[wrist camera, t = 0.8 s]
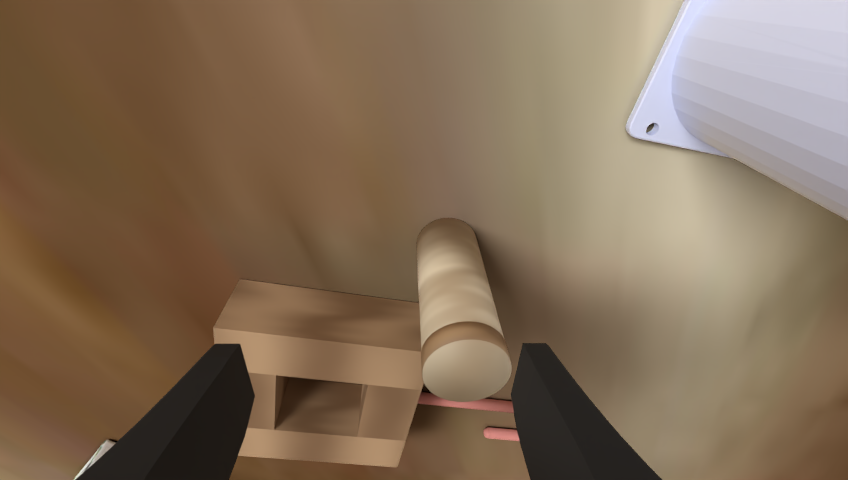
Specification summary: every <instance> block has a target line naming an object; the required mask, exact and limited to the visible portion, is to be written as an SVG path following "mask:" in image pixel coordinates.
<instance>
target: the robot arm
mask: <svg viewBox="0 0 848 480" xmlns="http://www.w3.org/2000/svg"><path fill="white" fill-rule="evenodd" d="M652 123H654V127H653V129H652V130H651V131H649V132H646V129H647V127H648V126H649V125H650V124H652ZM626 131H627V133H628V134H629V135H631V136H632V137H634V138H638V139H642V140H647V141H652V142H657V143H662V144H666V145H671V146H676V147H681V148H686V149H690V150H695V151H700V152H705V153H709V154H714V155H719V156H724V157H729V158H733V159H736V160H738V161H739V162H741V163H743V164H745V165H747V166H749V167H750V168H752V169H754V170H756V171H758V172H760V173H761V174H763V175H765V176H767V177H769V178H771V179H772V180H774V181H776V182H778V183H780V184H782V185H783V186H785V187H787V188H789V189H791V190H793V191H794V192H796V193H798V194H800V195H802V196H804V197H805V198H807V199H809V200H811V201H813V202H815V203H816V204H818V205H820V206H822V207H824V208H826V209H828V210H829V211H831V212H833V213H835V214H837V215H839V216H840V217H842V218H844V219H846V220H848V0H684V2H683V4H682V6H681V9H680V11H679V13H678V15H677V17H676V19H675V21H674V23H673V26H672V28H671V30H670V32H669V34H668V36H667V38H666V40H665V43H664V45H663V47H662V49H661V51H660V53H659V55H658V57H657V60H656V62H655V64H654V66H653V68H652V70H651V72H650V74H649V76H648V79H647V81H646V83H645V85H644V87H643V89H642V91H641V93H640V96H639V98H638V100H637V102H636V104H635V106H634V108H633V110H632V113H631V115H630V117H629V119H628V121H627V124H626ZM254 398H255V394H254V391H253V387H252V384H251V380H250V377H249V373H248V370H247V366H246V362H245V359H244V355H243V352H242V348H241V345H240V344H214V345H213V346H212V347H211V348H210V349H209V350H208V351H207V352H206V353H205V354H204V355H203V356H202V357H201V359H200V360H199V361H198V362H197V363H196V364H195V365H194V366H193V367H192V368H191V369H190V370H189V371H188V372H187V373H186V374H185V375H184V376H183V377H182V378H181V379H180V380H179V382H178V383H177V384H176V385H175V386H174V387H173V388H172V389H171V390H170V391H169V392H168V393H167V394H166V395H165V396H164V397H163V398H162V399H161V400H160V401H159V402H158V403H157V404H156V405H155V406H154V407H153V408H152V409H151V410H150V411H149V412H148V413H147V414H146V415H145V416H144V417H143V418H142V419H141V420H140V421H139V422H138V423H137V424H136V425H135V426H134V427H133V428H132V429H130V430H129V431H128V432H127V433H126V434H125V435H124V436H123V437H122V438H121V439H120V440H119V441H118V442H116V443H115V444H114V445H113V446H112V447H111V448H110V449H109V450H108V451H107V452H106V453H105V454H104V455H102V456H101V457H100V458H99V459H98V460H97V461H96V462H95V463H94V464H93V465H91V466H90V467H89V468H88V469H87V470H86V471H85V472H83V473H82V474H81V475H80V476H79V477H78V478H77V479H75V480H229V478H230V475H231V472H232V470H233V467H234V464H235V462H236V459H237V456H238V454H239V451H240V448H241V446H242V443H243V440H244V438H245V434H246V430H247V426H248V423H249V419H250V415H251V411H252V407H253V402H254ZM511 398H512V404H513V410H514V416H515V422H516V427H517V433H518V437H519V440H520V444H521V448H522V451H523V455H524V458H525V462H526V465H527V469H528V472H529V476H530V479H531V480H662V479H661V478H660V477H659V476H658V475H657V474H656V473H655V472H654V471H653V470H652V469H651V468H650V467H649V466H648V465H647V464H646V463H645V462H644V461H643V460H642V458H641V457H640V456H639V455H638V454H637V453H636V452H635V451H634V450H633V449H632V448H631V447H630V445H629V444H628V443H627V442H626V441H625V440H624V439H623V438H622V437H621V436H620V434H619V433H618V432H617V431H616V430H615V429H614V427H613V426H612V425H611V424H610V423H609V422H608V421H607V419H606V418H605V417H604V416H603V415H602V413H601V412H600V411H599V410H598V409H597V407H596V406H595V405H594V404H593V403H592V401H591V400H590V399H589V398H588V396H587V395H586V394H585V393H584V391H583V390H582V389H581V388H580V386H579V385H578V384H577V383H576V381H575V380H574V379H573V377H572V376H571V375H570V374H569V372H568V371H567V370H566V368H565V367H564V366H563V364H562V363H561V362H560V360H559V359H558V358H557V356H556V355H555V354H554V352H553V351H552V350H551V348H550V347H549V346H548V345H547V344H546V343H523V345H522V350H521V354H520V358H519V362H518V367H517V371H516V375H515V379H514V383H513V388H512V392H511Z"/></svg>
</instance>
